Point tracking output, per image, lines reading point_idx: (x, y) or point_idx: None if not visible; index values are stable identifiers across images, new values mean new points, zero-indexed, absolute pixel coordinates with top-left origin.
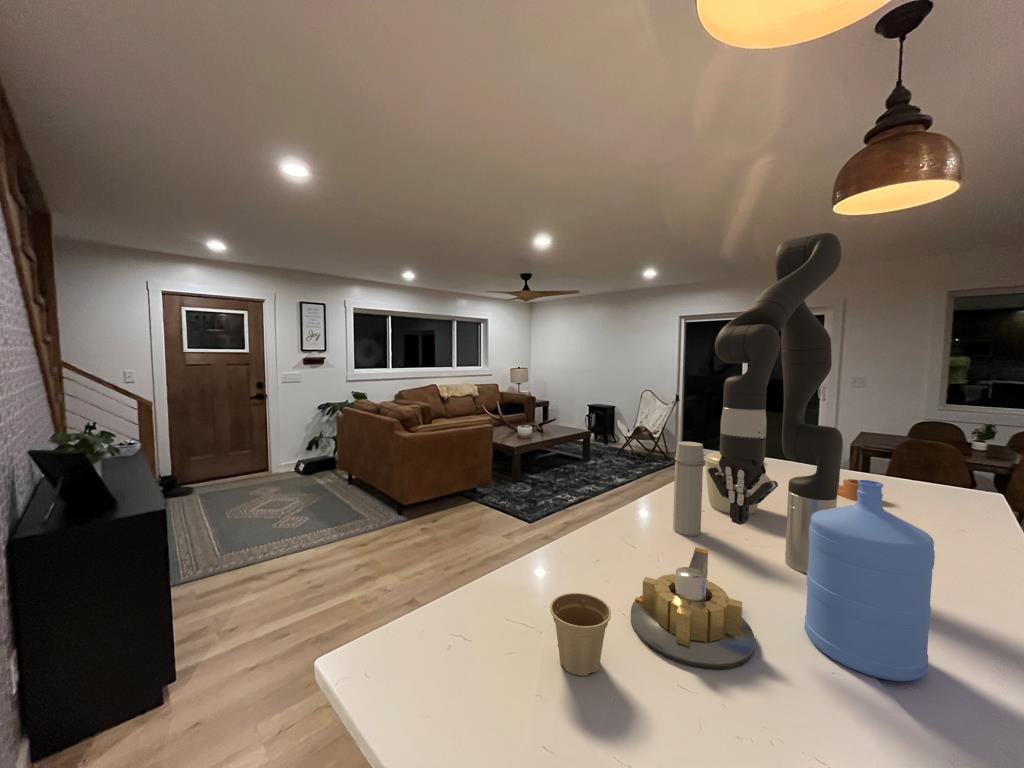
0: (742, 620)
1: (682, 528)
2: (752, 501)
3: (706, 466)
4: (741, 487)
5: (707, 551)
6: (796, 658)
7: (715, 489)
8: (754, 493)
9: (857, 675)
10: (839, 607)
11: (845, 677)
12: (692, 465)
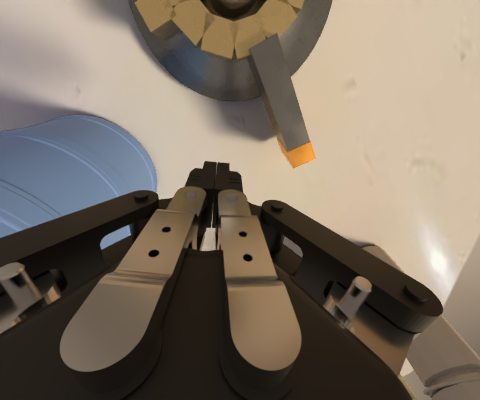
0: (187, 82)
1: (372, 252)
2: (123, 200)
3: (409, 389)
4: (157, 229)
5: (291, 161)
6: (114, 78)
7: None
8: (88, 224)
9: (67, 112)
10: (29, 129)
11: (67, 94)
12: (446, 373)
